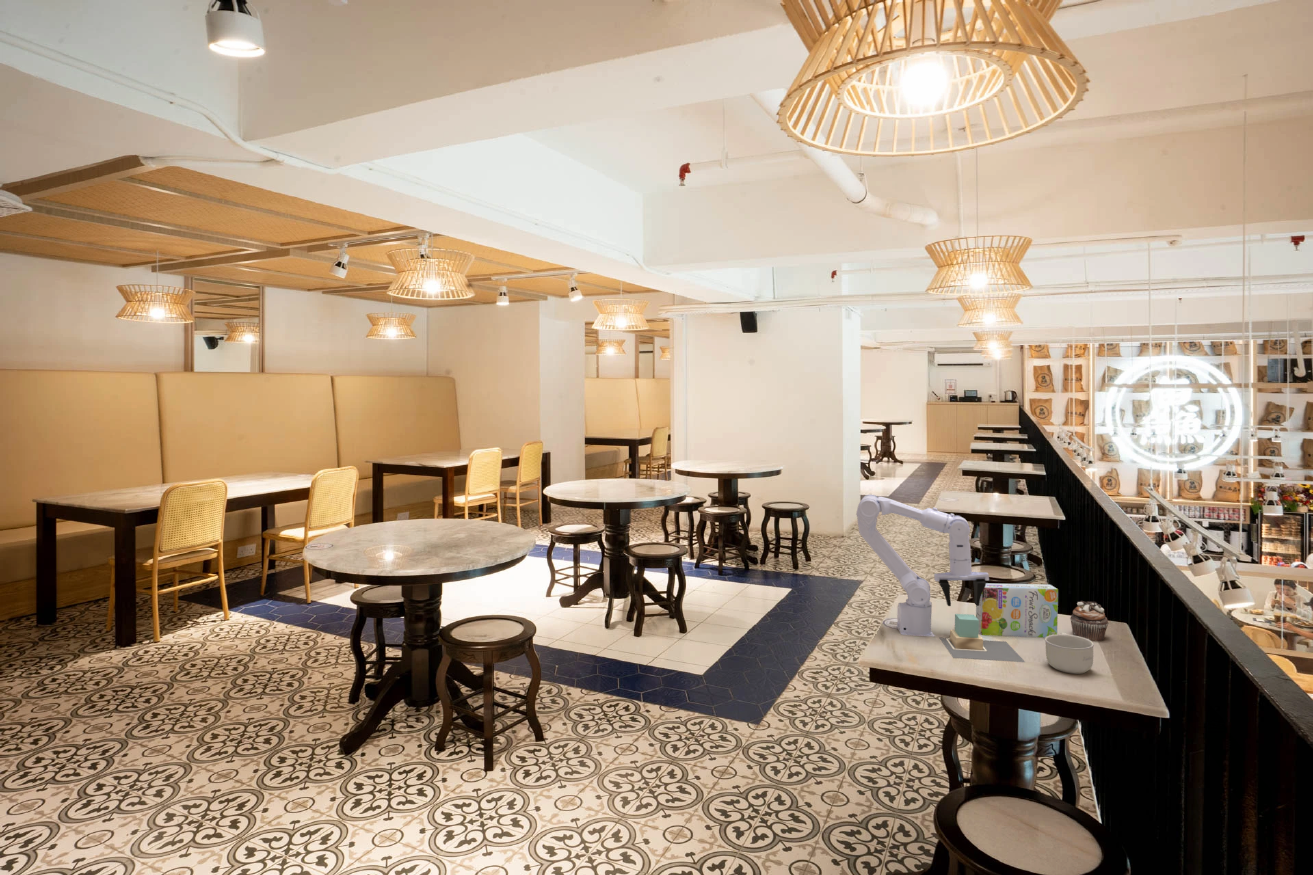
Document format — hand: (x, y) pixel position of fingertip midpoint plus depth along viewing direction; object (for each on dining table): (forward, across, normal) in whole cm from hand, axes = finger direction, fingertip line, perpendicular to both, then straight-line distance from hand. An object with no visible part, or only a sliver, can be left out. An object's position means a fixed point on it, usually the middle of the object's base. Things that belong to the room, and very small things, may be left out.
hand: (962, 604), depth 205 cm
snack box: (+11, +15, +6) cm, 20 cm away
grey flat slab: (+10, +2, -10) cm, 15 cm away
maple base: (+9, -1, -8) cm, 12 cm away
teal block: (+6, -1, -8) cm, 10 cm away
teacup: (+12, +21, -19) cm, 31 cm away
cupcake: (+13, +36, +10) cm, 39 cm away
